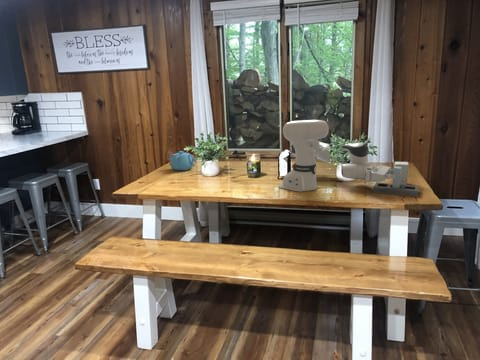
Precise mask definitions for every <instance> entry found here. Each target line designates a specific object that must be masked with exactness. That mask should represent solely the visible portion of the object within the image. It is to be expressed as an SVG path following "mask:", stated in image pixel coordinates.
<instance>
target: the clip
mask: <svg viewBox="0 0 480 360" xmlns="http://www.w3.org/2000/svg"><path fill="white" fill-rule="evenodd" d="M392 170H393V175H396V177H395V178H392V182H391V184H392V188H400V183H401V170H402V167H393V169H392Z"/></svg>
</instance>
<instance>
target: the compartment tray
mask: <svg viewBox="0 0 480 360" xmlns="http://www.w3.org/2000/svg"><path fill="white" fill-rule="evenodd" d="M372 192H373V193H378V194H385V195H386V194H388V195H396V196H397V195H398V196H406V197H407V196H408V197H415V198H417V197H418V194H419V193H420V186H419V185H411V184H407V185H400V188H392V183H387V182H380V181H376V182H375V184H374V185H373V187H372Z"/></svg>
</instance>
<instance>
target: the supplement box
mask: <svg viewBox="0 0 480 360" xmlns="http://www.w3.org/2000/svg"><path fill="white" fill-rule="evenodd" d="M393 166H394V167H402V170H401V183H400V185H408V177H409V176H408V175H409V174H408V173H409V162H408V161H394V165H393ZM394 167H393V168H394Z"/></svg>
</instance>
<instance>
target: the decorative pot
mask: <svg viewBox="0 0 480 360" xmlns="http://www.w3.org/2000/svg"><path fill="white" fill-rule="evenodd" d="M168 157H169V160H170V162H169V166H170V168H171V169H172V170H174V171H175V172H177V171H183V172H187V170H190V169H192V168H193V167H195V165H196V163H195V162H194V161H195V156H194V155H193V154H190V153H189V152H185V151H183V150H179V151H178V152H176V153H172V154H170V155H169V156H168Z"/></svg>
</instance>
